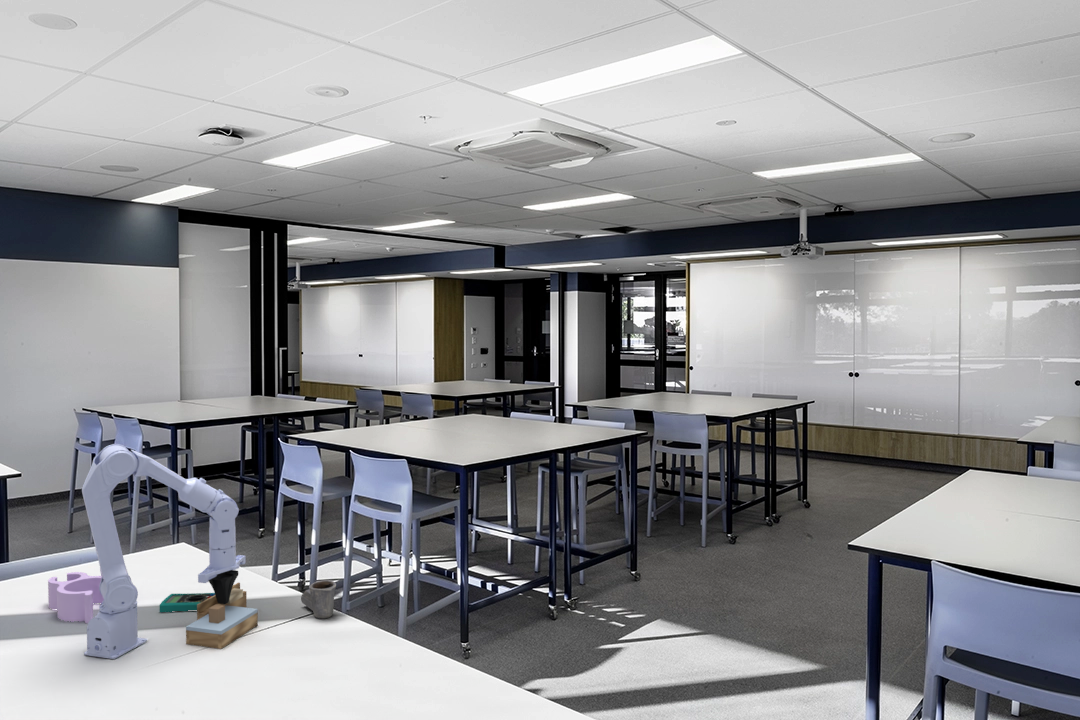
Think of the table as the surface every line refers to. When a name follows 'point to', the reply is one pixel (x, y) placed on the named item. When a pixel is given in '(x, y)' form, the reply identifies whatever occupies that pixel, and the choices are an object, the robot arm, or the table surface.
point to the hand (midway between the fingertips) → (223, 602)
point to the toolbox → (228, 636)
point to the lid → (221, 619)
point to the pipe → (320, 598)
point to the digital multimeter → (183, 601)
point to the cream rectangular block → (235, 595)
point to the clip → (74, 596)
